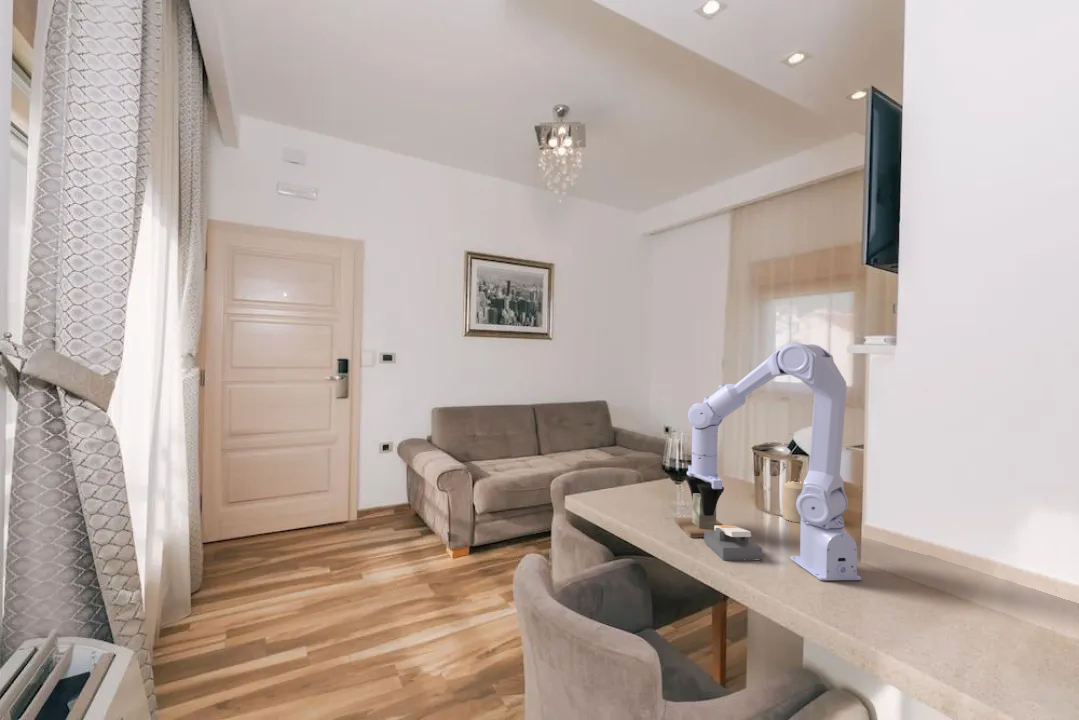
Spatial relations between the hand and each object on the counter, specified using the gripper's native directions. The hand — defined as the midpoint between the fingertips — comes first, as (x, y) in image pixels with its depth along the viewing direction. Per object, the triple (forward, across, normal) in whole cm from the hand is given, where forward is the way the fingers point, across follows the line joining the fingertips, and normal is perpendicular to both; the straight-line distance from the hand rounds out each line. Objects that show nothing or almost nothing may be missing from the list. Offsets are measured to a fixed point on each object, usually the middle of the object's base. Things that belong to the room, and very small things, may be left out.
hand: (703, 511), depth 107 cm
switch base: (+4, +12, +1) cm, 13 cm away
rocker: (0, +12, +1) cm, 12 cm away
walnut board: (+4, 0, 0) cm, 4 cm away
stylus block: (+3, 0, 0) cm, 3 cm away
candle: (+5, -7, +27) cm, 28 cm away
